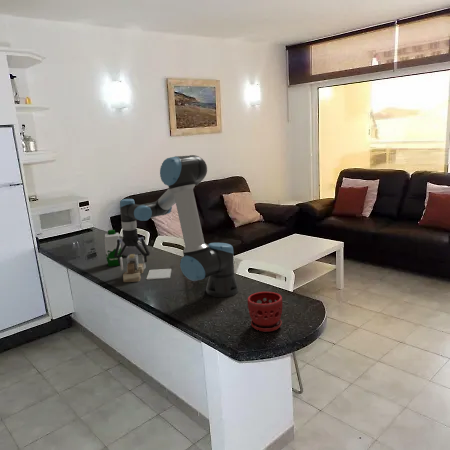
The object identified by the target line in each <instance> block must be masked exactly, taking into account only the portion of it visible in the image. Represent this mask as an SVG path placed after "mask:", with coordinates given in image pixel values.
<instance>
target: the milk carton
mask: <svg viewBox="0 0 450 450" xmlns="http://www.w3.org/2000/svg"><path fill="white" fill-rule="evenodd" d="M103 239H104V248H105V257H106V262H107V266H108V267H117V266H118V267H119V266H120V264H118V258H116V257H114V254H115V250H116V247H117V240H118V239H121V237H120V233H119V232H116V230H115V229H109V230H107V233H104V238H103ZM120 252H121V243H120V246H119V250H118V254H117V255H119V254H120ZM122 256H123V255H121V257H122ZM122 258H123V257H122Z"/></svg>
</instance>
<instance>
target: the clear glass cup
mask: <svg viewBox="0 0 450 450" xmlns="http://www.w3.org/2000/svg"><path fill="white" fill-rule="evenodd" d="M128 263H134V267H135V271H137V270H138V268H139V264H140V263H139V255H135V254H130V255H128V256H126V265H127V264H128ZM127 269H128V267H127V266H126V270H127Z"/></svg>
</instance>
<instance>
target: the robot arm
mask: <svg viewBox="0 0 450 450" xmlns="http://www.w3.org/2000/svg"><path fill="white" fill-rule="evenodd" d="M207 173H208V166H207V163H206V161H205V159H204V158H202V157H200V156H199V155H196V154H195V155H194V154H191V155H175V156H172V157H167V158H165V159H164V160H163V162H162V163H161V165H160V168H159V175H160V176H159V178H160V179H161V182H162V183H163V184H164V185H165V186H167V187H168V188H167V189H166V191H164V193H163V194H162V195H161V196H159V198H158V199H157V200H156V201H153V202H147V203H143V204H137V203H135V200H134V199H133V198H124V199H121V200H120V201H119V210H120V219H121V221H120V222H121V229H122V231H121V232H122V238H120V239H118V240H117V247H116V250H115V254H114V257H116V258H118V264H120V265H119V266H120V271H123V270H124V263H123V257H121V255H122V253H123V251H124V250H125V248H126V246H128V247H130V246H135V247H136V248H137V249H138V250H139V251H140V252H141V254H140V255H142V258H141V259H142V264H143V270H145V269H146V263H147V261H148V257H149V256H150V254H151V252H150V250H149V248H148V246H147V244H146V241H145V237H144V236H142V237H139V236H138V228H137V225H138V224H137V223H138V222H137V221H141V222H142V221H143V222H144V221H149V219H152V218H155V217H161V216H166V215H168V214H170V213H171V212H172V209H173V206H174V205H175V206H176V210H177V214H178V219H179V225H180V229H181V234H182V237H183V242H184V246H185V247H184V249H183V251H182V253H183V256H182V258H181V259H180V262H179V263H180V264H179V266H180V270H181V272H182V274H183V276H184V277H186V278H187V279H188V280H190V281H193V282H196V281H197V282H198V281H201V280H203V279H206V278H207V277H208V280H207V283H206V287H205V288H206V289H205V290H206V292H205V293H206V294H207V295H208V296H211V297H215V298H228V297H232V296H234V295H236V294H237V293H239V283H238V282H237V279H236V276H235V260H234V259H235V258H234V253H235V252H234V247H233V245H232V244H230V243H226V242H210V243H208V244H207V243H205V239H204V234H203V230H202V224H201V220H200V216H199V211H198V207H197V202H196V197H195V192H194V189H195V186H198V185H199V184H200V183H201V182H202V181H204V179H205V178H206V176H207ZM122 241H123V242H124V243H125V245H124V247H123V248H122V250H121V252H120V254H119V255H117V254H118V250H119V246H120V243H121V242H122ZM137 242H139V243H140V244H142V248H141V247H140V246H139V244H138V243H137ZM122 256H123V255H122Z"/></svg>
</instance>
